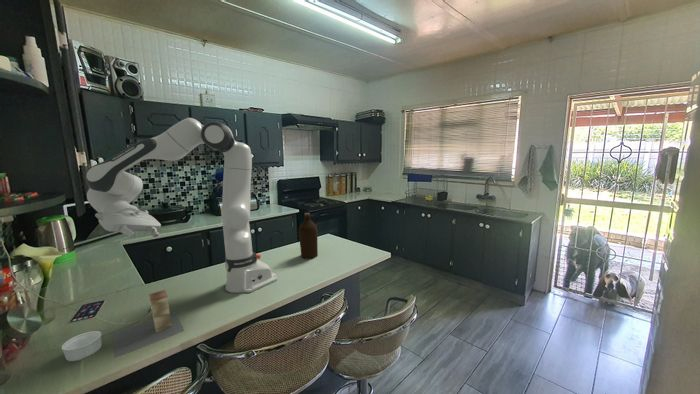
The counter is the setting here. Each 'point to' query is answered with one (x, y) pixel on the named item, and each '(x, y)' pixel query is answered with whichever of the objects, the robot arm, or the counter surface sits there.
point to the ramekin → (82, 345)
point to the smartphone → (87, 311)
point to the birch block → (160, 310)
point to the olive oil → (308, 238)
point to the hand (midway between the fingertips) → (145, 235)
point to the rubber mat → (143, 335)
